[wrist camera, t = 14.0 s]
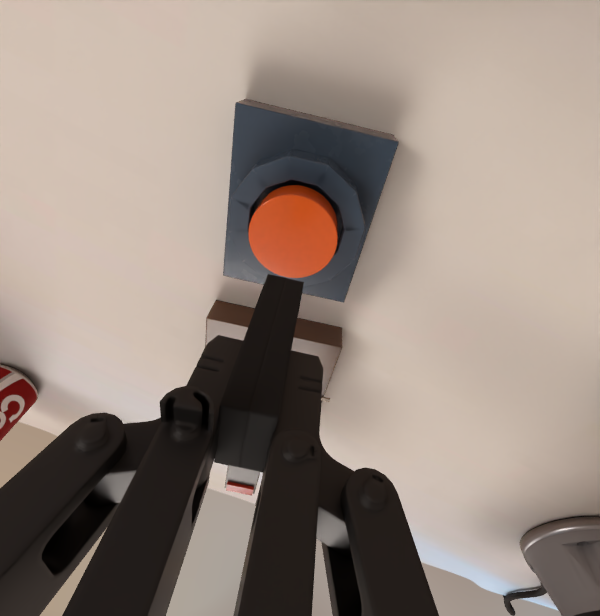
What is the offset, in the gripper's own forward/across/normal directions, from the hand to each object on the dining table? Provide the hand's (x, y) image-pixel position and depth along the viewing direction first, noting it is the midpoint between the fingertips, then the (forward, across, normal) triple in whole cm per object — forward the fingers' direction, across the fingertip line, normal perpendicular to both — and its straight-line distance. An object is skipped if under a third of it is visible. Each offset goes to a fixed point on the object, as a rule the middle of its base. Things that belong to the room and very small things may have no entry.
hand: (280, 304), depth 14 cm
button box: (+11, 0, 0) cm, 11 cm away
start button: (+8, 0, 0) cm, 8 cm away
